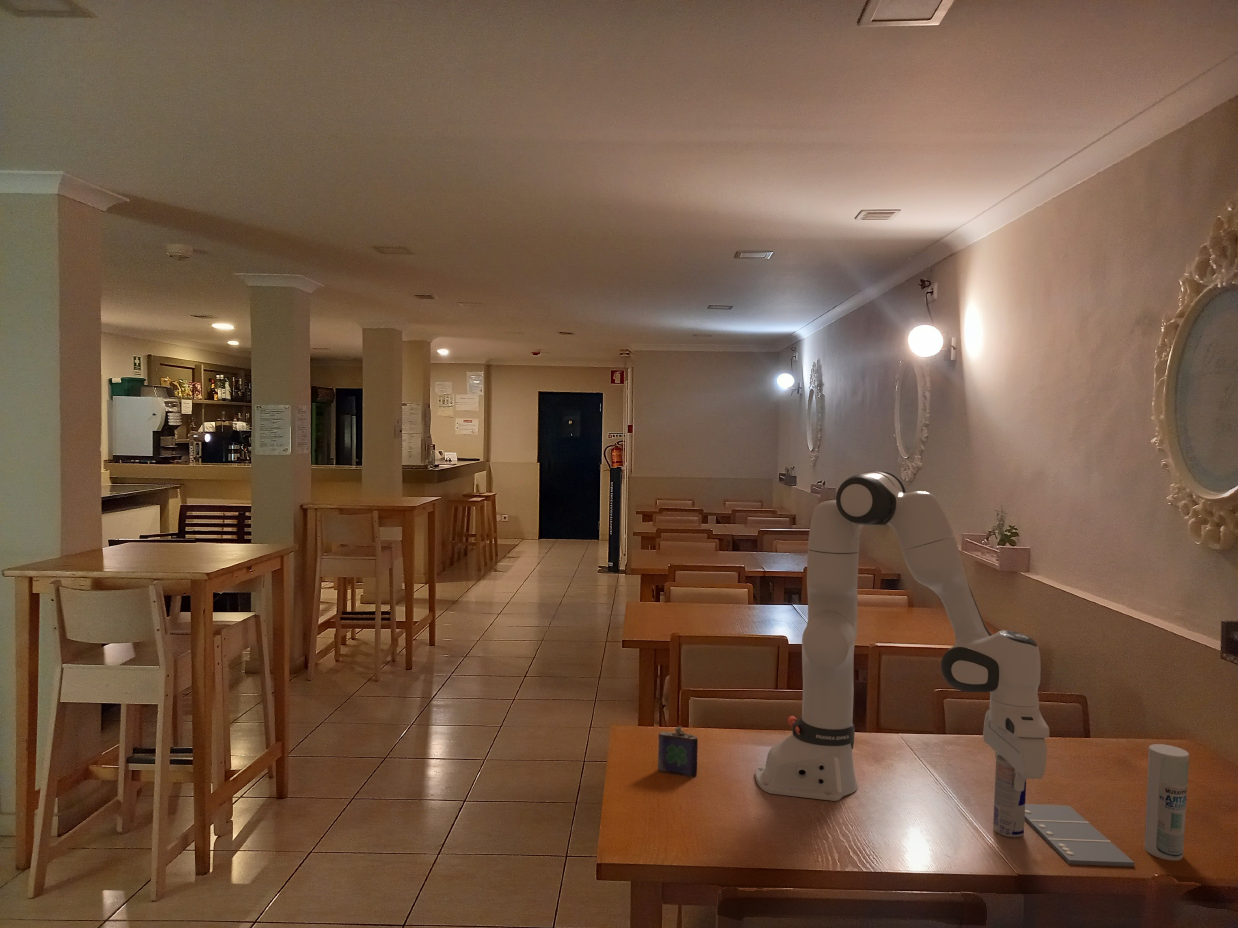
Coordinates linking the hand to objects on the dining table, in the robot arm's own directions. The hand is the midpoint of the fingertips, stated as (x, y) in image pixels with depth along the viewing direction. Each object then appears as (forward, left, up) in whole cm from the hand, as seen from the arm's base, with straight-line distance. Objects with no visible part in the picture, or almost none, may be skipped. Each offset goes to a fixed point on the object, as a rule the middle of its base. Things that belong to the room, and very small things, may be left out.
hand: (1010, 782), depth 170 cm
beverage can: (0, 0, -10) cm, 10 cm away
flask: (-65, +24, -10) cm, 70 cm away
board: (+12, 0, -10) cm, 16 cm away
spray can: (+27, -6, -10) cm, 30 cm away
